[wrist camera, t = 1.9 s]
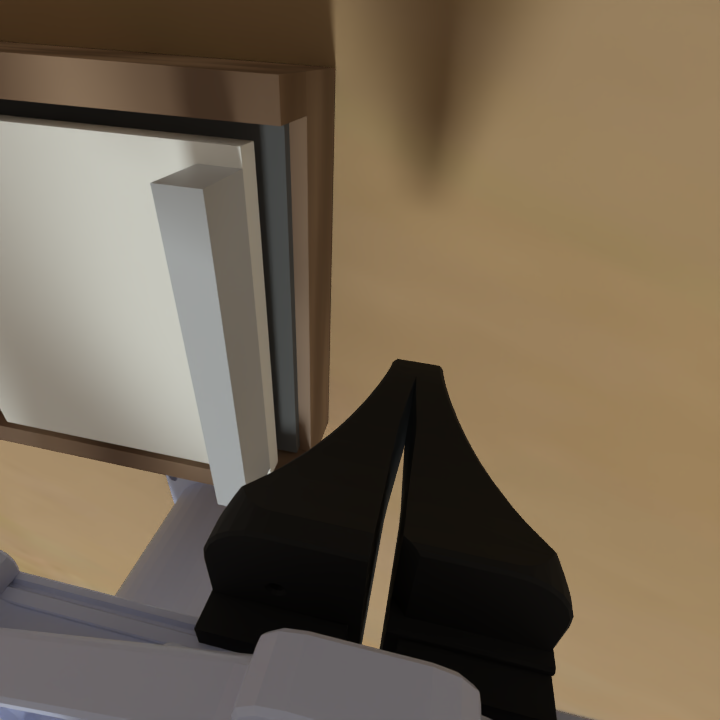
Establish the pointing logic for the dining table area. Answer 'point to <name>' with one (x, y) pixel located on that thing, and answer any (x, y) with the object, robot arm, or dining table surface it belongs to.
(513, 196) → the dining table surface
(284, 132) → the panel
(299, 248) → the tray
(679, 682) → the dining table surface
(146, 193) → the sliding door
